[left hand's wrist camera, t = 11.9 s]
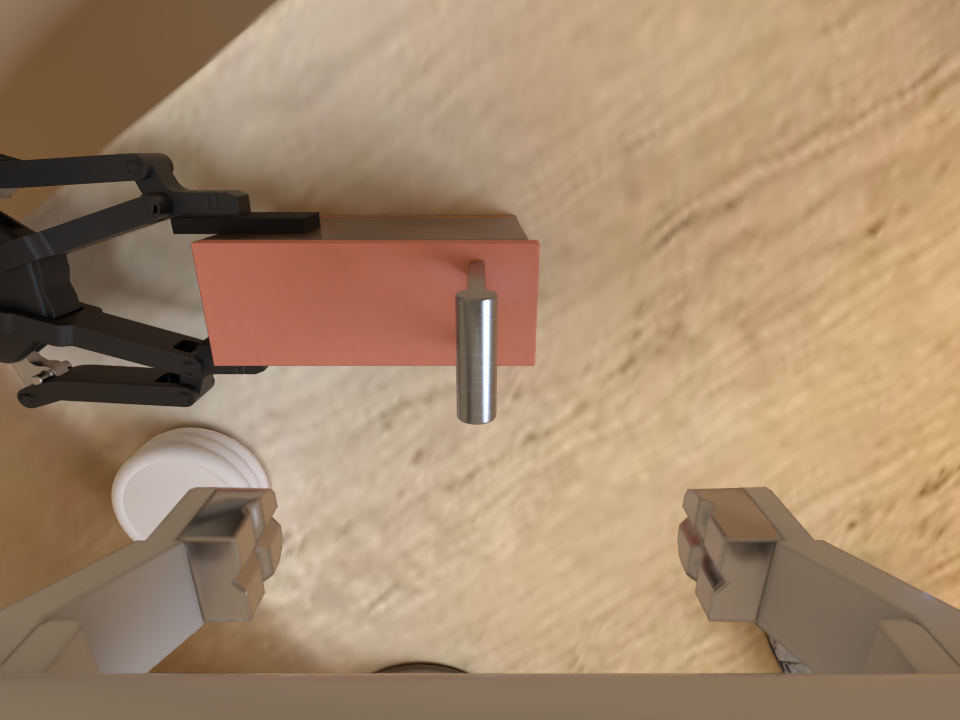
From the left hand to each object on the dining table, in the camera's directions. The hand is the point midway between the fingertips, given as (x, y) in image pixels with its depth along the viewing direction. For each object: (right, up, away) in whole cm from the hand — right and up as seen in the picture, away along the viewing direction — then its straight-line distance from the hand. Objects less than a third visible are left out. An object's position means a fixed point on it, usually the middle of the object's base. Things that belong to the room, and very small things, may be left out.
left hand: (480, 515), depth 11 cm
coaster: (-21, -6, +30) cm, 37 cm away
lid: (-5, +6, +15) cm, 17 cm away
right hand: (-9, +7, +18) cm, 21 cm away
